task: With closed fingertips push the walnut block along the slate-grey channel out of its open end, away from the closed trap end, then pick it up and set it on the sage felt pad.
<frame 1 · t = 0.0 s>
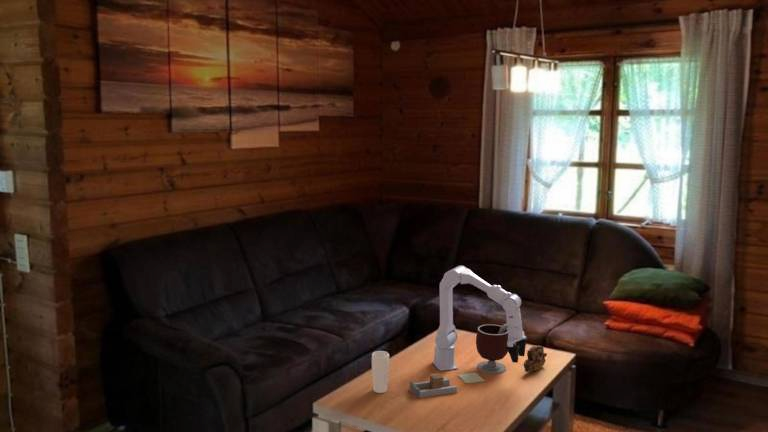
hand: (518, 359, 250), 11 cm above the table, fingers open, 7 cm apart
mate gourd: (493, 368, 268), on the table
channel: (434, 390, 245), on the table
drinking glass: (380, 391, 244), on the table
wooden carving: (535, 370, 267), on the table
block: (436, 390, 246), resting in channel
pad: (470, 378, 257), on the table
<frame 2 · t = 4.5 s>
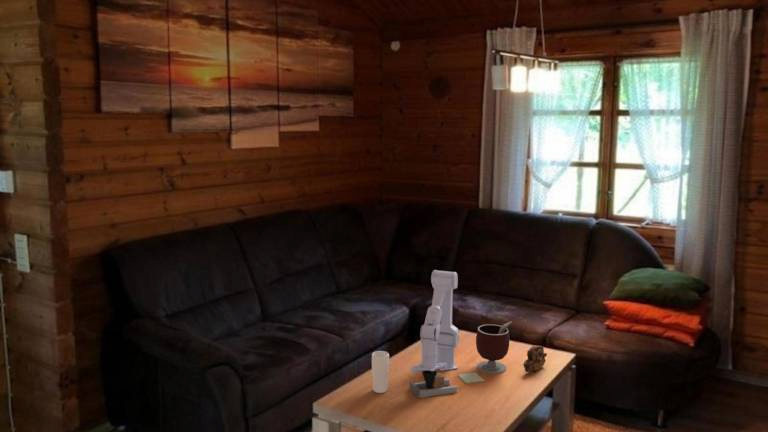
hand: (428, 388, 244), 1 cm above the table, fingers closed
block: (436, 390, 245), resting in channel, touching gripper
everything else where it was.
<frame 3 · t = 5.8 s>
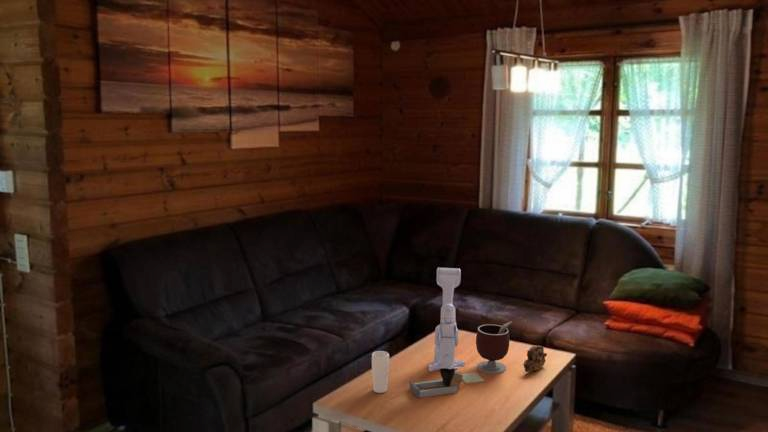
hand: (446, 385, 247), 1 cm above the table, fingers closed
block: (452, 386, 247), point 1 cm above the table, tilted 16°, touching gripper
everything else where it was.
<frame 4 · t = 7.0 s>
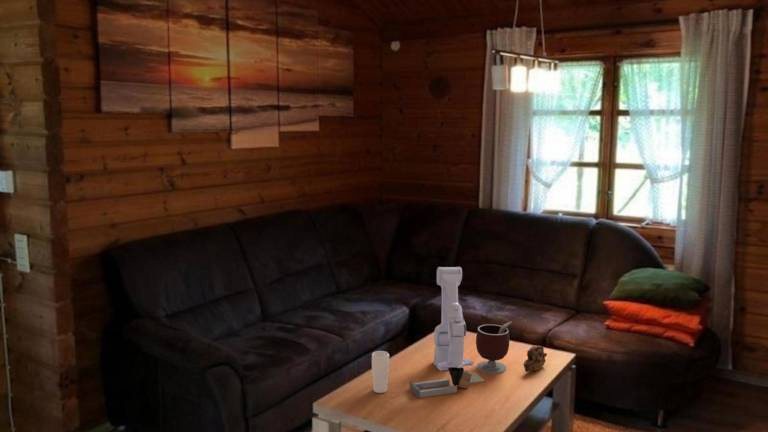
hand: (454, 384, 248), 1 cm above the table, fingers closed
block: (460, 385, 249), point 1 cm above the table, tilted 16°, touching gripper
everything else where it was.
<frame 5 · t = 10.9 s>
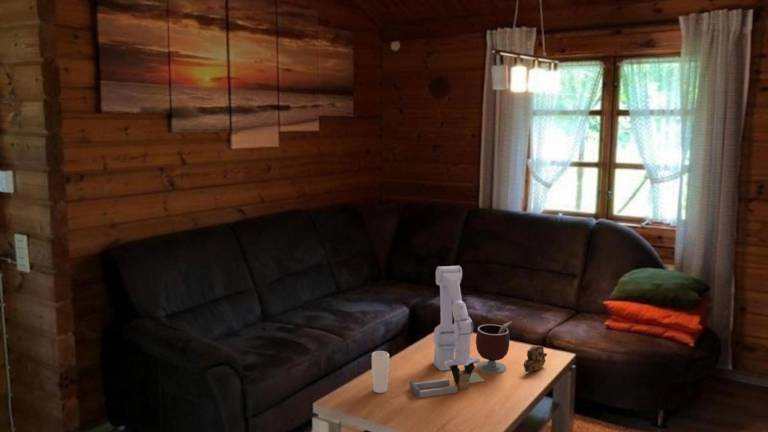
hand: (461, 382, 249), 2 cm above the table, fingers closed on block, 4 cm apart
block: (461, 386, 249), on the table, touching gripper
everything else where it was.
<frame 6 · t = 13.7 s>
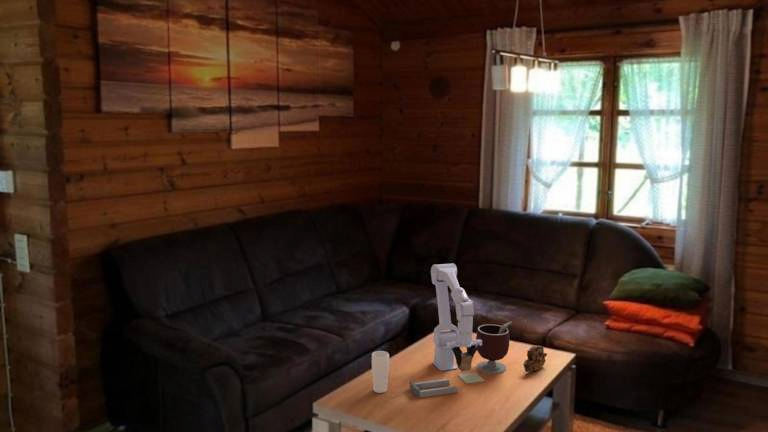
hand: (463, 364, 249), 9 cm above the table, fingers closed on block, 4 cm apart
block: (464, 368, 249), point 7 cm above the table, touching gripper
everything else where it was.
when the fingers open (3 cm above the table, at t = 16.5 s): block drops 1 cm, resting on pad.
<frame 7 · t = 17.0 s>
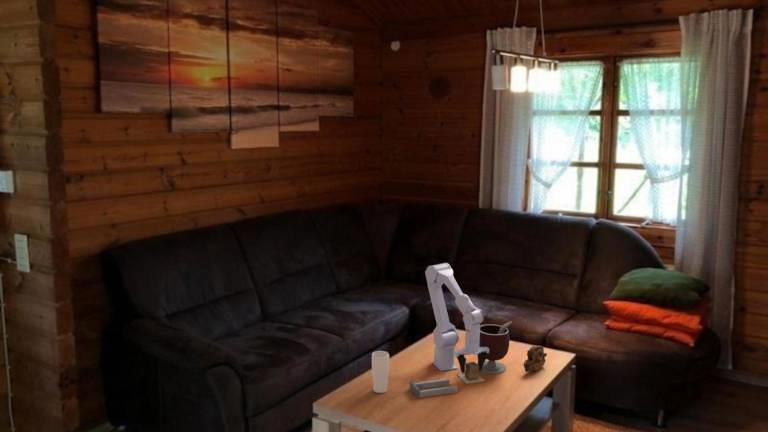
hand: (471, 370, 256), 3 cm above the table, fingers open, 7 cm apart
block: (471, 378, 256), resting on pad
everything else where it was.
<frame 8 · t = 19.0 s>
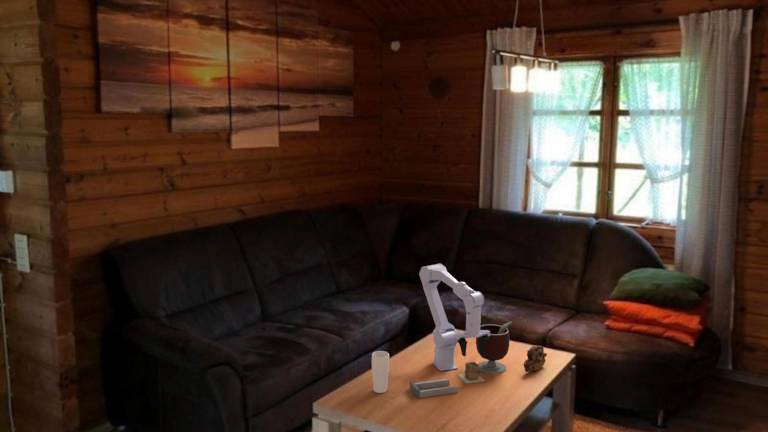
hand: (472, 354, 255), 10 cm above the table, fingers open, 7 cm apart
nothing on the table moved.
at the end: block inside the target area on the pad (0.7 cm from its centre), point 0.4 cm above the pad's base; block tilted 0°; the gripper is holding nothing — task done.
